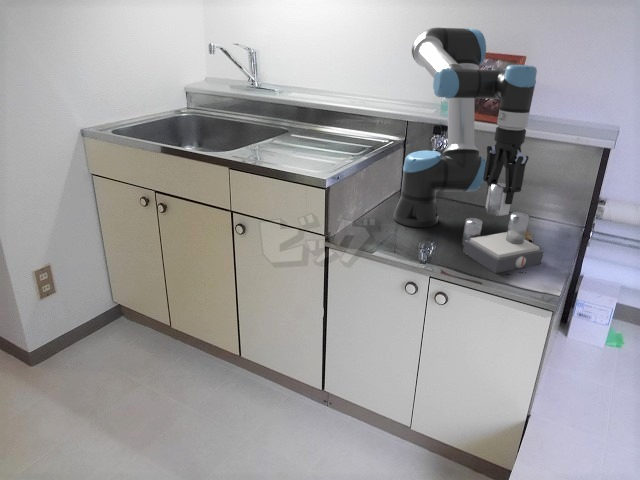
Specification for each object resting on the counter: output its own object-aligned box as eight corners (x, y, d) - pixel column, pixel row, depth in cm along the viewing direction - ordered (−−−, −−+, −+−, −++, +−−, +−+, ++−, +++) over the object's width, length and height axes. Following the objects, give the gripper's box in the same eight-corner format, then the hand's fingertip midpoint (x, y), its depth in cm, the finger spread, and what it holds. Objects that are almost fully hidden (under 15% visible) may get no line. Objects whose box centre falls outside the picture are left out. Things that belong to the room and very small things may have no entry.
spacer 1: (458, 242, 161) (462, 219, 158) (471, 240, 163) (475, 217, 159) (468, 249, 157) (472, 224, 153) (481, 246, 159) (486, 222, 155)
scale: (462, 252, 154) (465, 237, 152) (506, 244, 161) (509, 230, 159) (497, 274, 142) (500, 257, 140) (542, 264, 148) (546, 248, 146)
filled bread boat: (517, 231, 172) (520, 218, 170) (536, 249, 159) (538, 236, 157) (502, 231, 171) (504, 218, 170) (519, 249, 158) (522, 236, 157)
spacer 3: (502, 238, 152) (507, 213, 149) (515, 236, 154) (520, 211, 151) (514, 245, 148) (519, 219, 145) (527, 242, 150) (533, 217, 147)
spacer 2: (482, 210, 145) (487, 183, 142) (497, 209, 147) (501, 182, 144) (494, 216, 141) (499, 188, 138) (509, 214, 143) (514, 187, 140)
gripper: (477, 121, 141) (465, 202, 150) (525, 134, 126) (508, 223, 135) (499, 120, 144) (486, 200, 153) (548, 133, 129) (530, 220, 138)
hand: (496, 210), depth 144 cm, fingers closed on spacer 2, 5 cm apart
